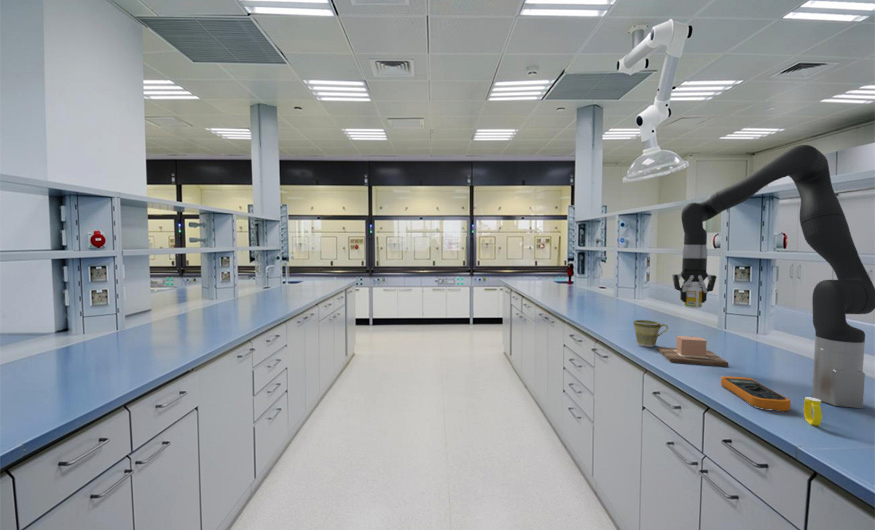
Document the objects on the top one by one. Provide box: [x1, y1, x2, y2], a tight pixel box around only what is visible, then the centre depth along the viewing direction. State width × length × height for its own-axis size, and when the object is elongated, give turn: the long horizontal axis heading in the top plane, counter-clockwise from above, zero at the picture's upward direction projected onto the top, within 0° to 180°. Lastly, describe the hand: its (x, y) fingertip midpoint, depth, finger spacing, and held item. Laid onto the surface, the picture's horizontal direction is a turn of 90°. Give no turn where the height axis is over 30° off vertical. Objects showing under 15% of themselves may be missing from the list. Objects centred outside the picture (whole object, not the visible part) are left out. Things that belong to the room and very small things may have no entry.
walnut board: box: [657, 346, 729, 368], centre depth 143 cm, size 16×18×2 cm
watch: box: [803, 396, 823, 427], centre depth 90 cm, size 6×3×6 cm, turn 153°
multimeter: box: [720, 376, 792, 412], centre depth 106 cm, size 9×18×3 cm, turn 169°
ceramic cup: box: [633, 319, 669, 348], centre depth 161 cm, size 13×10×10 cm
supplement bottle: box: [683, 282, 703, 309], centre depth 142 cm, size 5×5×10 cm
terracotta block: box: [675, 335, 707, 357], centre depth 143 cm, size 6×8×6 cm
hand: (693, 302), depth 142 cm, fingers closed on supplement bottle, 5 cm apart
